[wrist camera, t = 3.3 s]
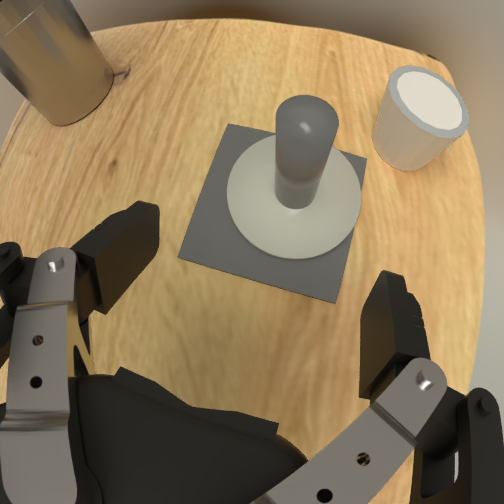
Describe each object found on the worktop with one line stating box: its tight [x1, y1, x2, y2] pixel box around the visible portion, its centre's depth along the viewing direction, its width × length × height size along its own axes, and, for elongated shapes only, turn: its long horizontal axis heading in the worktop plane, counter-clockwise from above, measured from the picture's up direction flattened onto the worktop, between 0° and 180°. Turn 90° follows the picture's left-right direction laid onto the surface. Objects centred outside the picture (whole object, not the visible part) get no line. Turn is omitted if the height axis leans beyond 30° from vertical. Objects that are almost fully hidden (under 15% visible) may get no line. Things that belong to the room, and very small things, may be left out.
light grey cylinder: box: [372, 65, 469, 172], centre depth 21 cm, size 7×7×7 cm
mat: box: [178, 124, 367, 303], centre depth 23 cm, size 12×12×1 cm
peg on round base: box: [227, 95, 361, 260], centre depth 19 cm, size 10×10×10 cm
